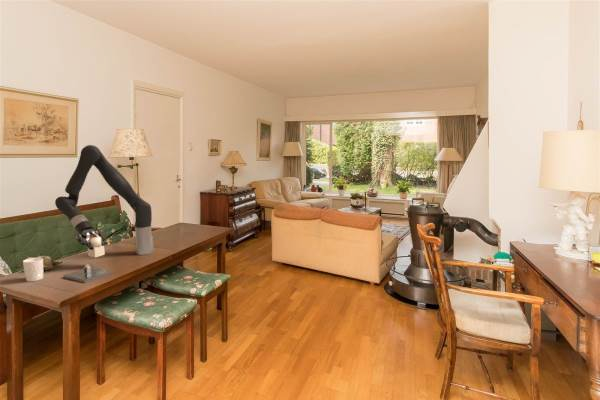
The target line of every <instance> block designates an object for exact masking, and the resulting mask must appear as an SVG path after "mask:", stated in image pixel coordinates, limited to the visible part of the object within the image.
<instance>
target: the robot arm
mask: <svg viewBox="0 0 600 400" xmlns="http://www.w3.org/2000/svg"><path fill="white" fill-rule="evenodd" d="M77 162H78V163H77V165H76V168H75V170H74V171H73V173H72V175H71V177H70V178H69V181H68V182H67V185H66V187H65V188H64V189H65V190H64V191H65V192H66V193H67V194H68V196H58V197H56V199H55V200H54V201H55V202H54V204H55V207H56V209H58V210H59V211H60V212H61V213H62V214H63V215H65V216H66V217H67V219H68V220H69V221H70V224H71V225H72V227H73V228H74V229H75V230H76V232H77V235H76V236H75V239H76V241H77V242H78V243H80V245H82V246H86V247H87V249H88V248H89V249H91V250H93V248H94V247H93V245H92V244H91V243H89V242H90V241H89V239H90V238H91V237H101V244H102V246H104V247H105V242H104V241H103V240H104V238H105V235H104V234H103V232H102V229H98V230H96V229H95V228H94V226H93V225H92V223H90V221H89V220H88V218H87V217H86V215H84V213H83V212H82V211H81V209H79V208H78V207H76V206H78V203H79V198H80V192H81V190H82V188H83V186H84V185H85V181H86V179H87V177H88V174H89V172H90V170H91V169H92V167H93V166H94V167H95V168H96V169H97V170H98V171H99V173H100V175H101V177H102V178H103V179H104V181H105V182H106V184H107V185H108V186H109V187H110V188H111V189H112V190H113V191H114V192H115V193H116V194H118V195H119V196H120V197H121V198H122V199H123V200H125V201H126V203H127V204H128V205H129V207H130V208H131V209H132V210H133V212H134V213H135V218H134V219H135V222H134V231H135V233H134V234H135V235H134V236H135V250H136V253H135V254H136V255H138V256H141V255H142V256H143V255H150V254H152V253H153V252H154V250H155V249H154V237H153V236H152V233H153V232H152V222H153V221H152V220H153V218H152V216H153V215H152V206H151V204H150V203H149V202H147V201H146V200H144V199H143V198H142V197H140V195H139V194H137V193H136V191H135V190H134V189H133V187H132V185H131V184H130V182H129V181H128V180H127V179H126V177H125V176H124V175H123V174H121V173H120V171H119V170H117V168H115V167H114V166H113V165H112V164H111V163H110V162H109V161H108V159H107V158H106V157H105V155H104V154H103V153H102V152H101V149H99V148H98V147H97V146H96V145H92V144H87V145H85V146H83V148H81V150H80V155H79V160H78V161H77Z"/></svg>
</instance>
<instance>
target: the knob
mask: <svg viewBox="0 0 600 400" xmlns="http://www.w3.org/2000/svg"><path fill="white" fill-rule="evenodd" d="M89 241H90V242H89V243H91V244H92V245H93V247H94V248H93V250H91V249H89V248H88V247H87V255H88V257H91V258H98V257H102V256H104V255H105V254H106V253H105V245H104V246H102V244H101V237H96V236H95V237H91V238H90V239H89Z"/></svg>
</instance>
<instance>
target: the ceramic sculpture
mask: <svg viewBox="0 0 600 400" xmlns="http://www.w3.org/2000/svg"><path fill="white" fill-rule="evenodd" d="M37 257H40V258H43V271H51V270H53V269H55V268H56V267H55V266H58V265H61V264H62V263H64V262H63V261H57V260H54V258H52V257H51V255H50V256H49V255H44V254H39V255H37V256H36V258H37ZM30 258H34V257H32V256H30V257H29V256H27V257H26V259H30Z"/></svg>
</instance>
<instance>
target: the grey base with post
mask: <svg viewBox="0 0 600 400" xmlns="http://www.w3.org/2000/svg"><path fill="white" fill-rule="evenodd" d="M84 265H85V266H83V268H82V269H79V270H76V271H73V272H70V273H65V274H63V279H67V280H72V281H75V282H80V283H83V284H84V283H88V282H89V283H90V282H92V281H94V280H97V279H100V278H103V277H105V276H109V275H111V274H112V271H111V270H109V269H108V270H107V269H102V268H100V267H92V266H90V264H89V263H87V264H84Z"/></svg>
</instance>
